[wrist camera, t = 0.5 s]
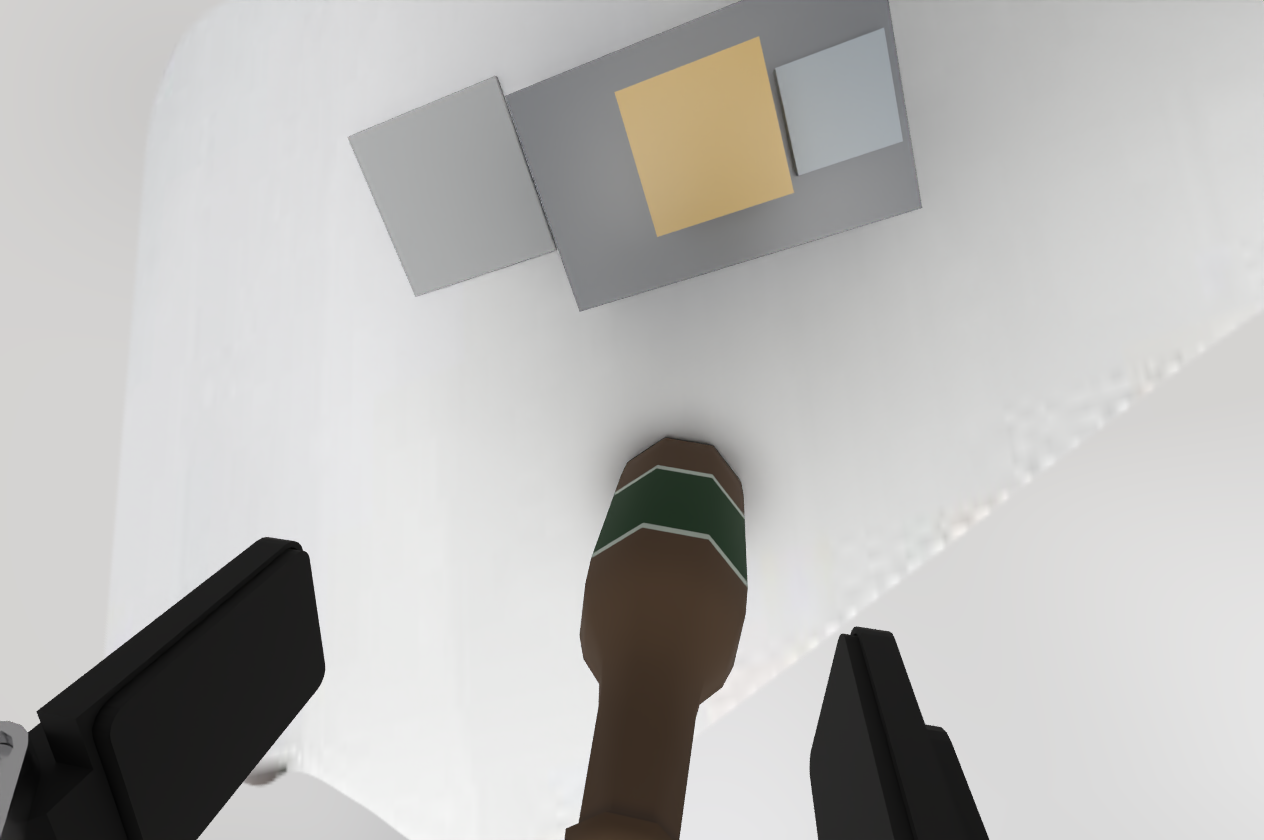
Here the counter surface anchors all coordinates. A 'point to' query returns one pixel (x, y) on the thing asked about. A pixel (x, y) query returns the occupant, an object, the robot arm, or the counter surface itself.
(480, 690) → the counter surface
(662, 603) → the beer bottle
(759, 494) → the counter surface
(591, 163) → the grey block with hole
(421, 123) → the mat
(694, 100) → the plug
